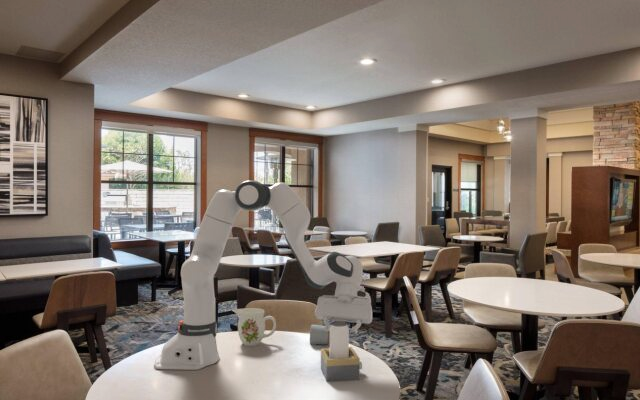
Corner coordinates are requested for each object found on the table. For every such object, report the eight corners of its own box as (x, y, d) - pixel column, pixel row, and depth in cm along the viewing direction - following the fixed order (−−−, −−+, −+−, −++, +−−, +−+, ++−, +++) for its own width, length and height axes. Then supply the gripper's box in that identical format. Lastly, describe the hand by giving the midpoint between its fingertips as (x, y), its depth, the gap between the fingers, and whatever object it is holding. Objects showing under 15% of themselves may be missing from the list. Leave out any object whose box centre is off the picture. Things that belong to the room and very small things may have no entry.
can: (349, 356, 151) (350, 321, 151) (346, 363, 145) (347, 327, 145) (331, 354, 153) (331, 320, 153) (327, 361, 147) (328, 325, 147)
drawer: (326, 381, 142) (326, 360, 142) (320, 368, 153) (320, 348, 153) (365, 379, 145) (365, 357, 145) (356, 366, 155) (357, 346, 155)
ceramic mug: (329, 347, 176) (330, 327, 176) (309, 346, 176) (309, 327, 176) (330, 339, 186) (330, 320, 186) (311, 338, 187) (311, 320, 187)
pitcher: (275, 347, 175) (275, 312, 175) (229, 348, 173) (230, 313, 173) (276, 338, 186) (276, 306, 186) (233, 339, 184) (233, 306, 184)
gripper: (317, 289, 160) (309, 324, 150) (373, 293, 154) (368, 329, 145) (320, 299, 164) (312, 333, 155) (375, 303, 158) (370, 338, 149)
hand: (340, 331), depth 150 cm, fingers open, 8 cm apart
